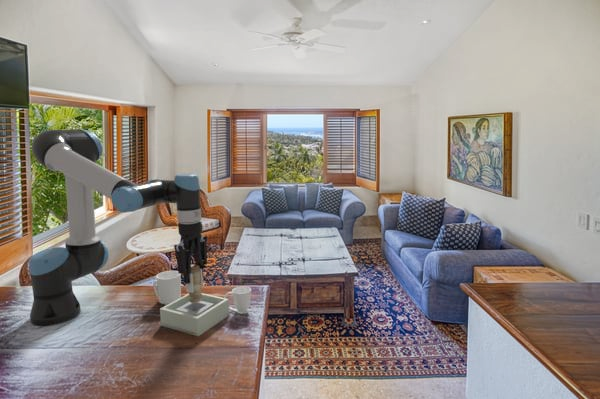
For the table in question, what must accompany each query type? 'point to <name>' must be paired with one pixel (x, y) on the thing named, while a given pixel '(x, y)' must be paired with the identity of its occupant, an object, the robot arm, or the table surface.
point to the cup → (241, 299)
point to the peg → (195, 285)
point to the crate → (194, 314)
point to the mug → (168, 286)
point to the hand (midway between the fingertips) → (194, 289)
